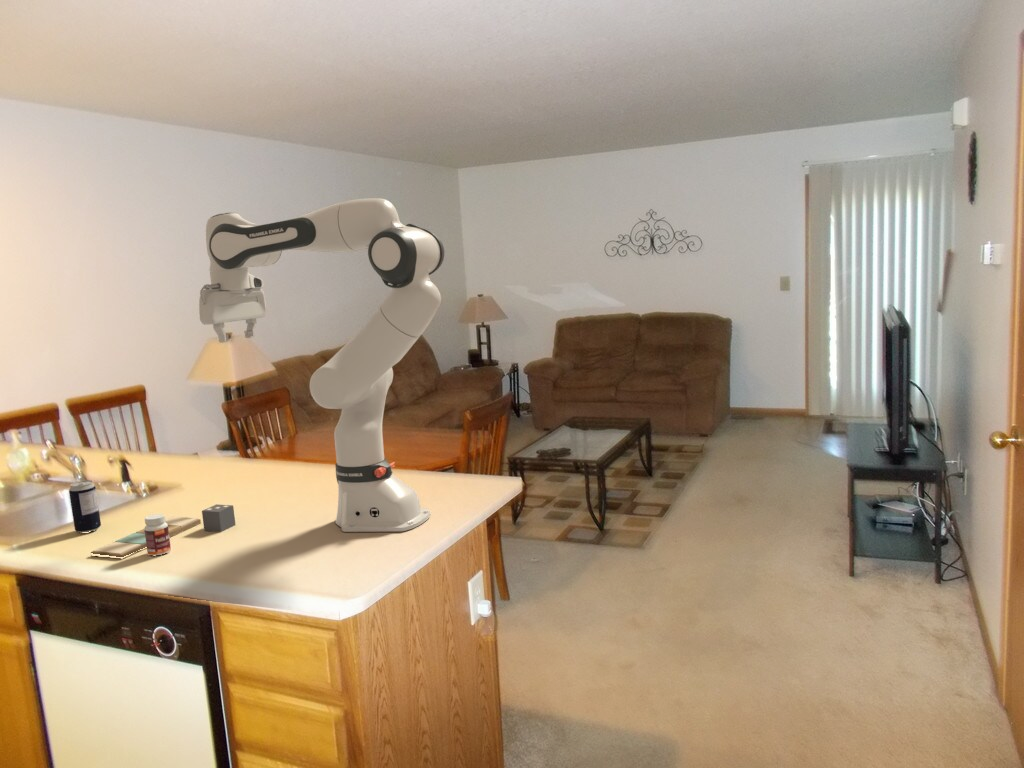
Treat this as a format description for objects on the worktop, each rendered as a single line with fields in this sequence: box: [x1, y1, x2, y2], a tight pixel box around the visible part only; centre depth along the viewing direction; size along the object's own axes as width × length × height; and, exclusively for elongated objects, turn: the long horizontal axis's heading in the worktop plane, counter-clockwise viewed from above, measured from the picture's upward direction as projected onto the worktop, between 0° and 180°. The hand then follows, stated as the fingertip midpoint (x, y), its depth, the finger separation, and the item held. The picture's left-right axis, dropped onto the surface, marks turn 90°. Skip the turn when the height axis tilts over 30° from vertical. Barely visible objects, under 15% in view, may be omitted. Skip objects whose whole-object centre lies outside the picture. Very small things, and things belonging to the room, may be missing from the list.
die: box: [201, 504, 236, 533], centre depth 189 cm, size 5×5×5 cm
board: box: [90, 516, 202, 557], centre depth 184 cm, size 9×24×1 cm, turn 160°
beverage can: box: [68, 480, 102, 533], centre depth 192 cm, size 6×6×12 cm
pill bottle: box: [143, 513, 172, 556], centre depth 174 cm, size 5×5×8 cm
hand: (237, 339), depth 192 cm, fingers open, 8 cm apart
